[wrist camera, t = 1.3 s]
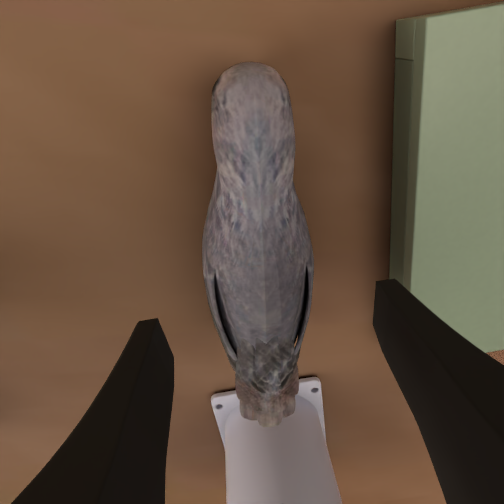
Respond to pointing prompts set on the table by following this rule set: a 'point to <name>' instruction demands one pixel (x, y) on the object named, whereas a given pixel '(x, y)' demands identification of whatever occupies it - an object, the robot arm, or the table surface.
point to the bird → (257, 241)
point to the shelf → (451, 168)
